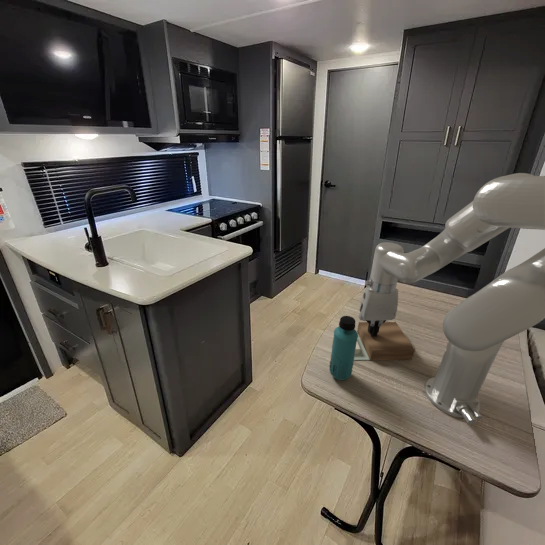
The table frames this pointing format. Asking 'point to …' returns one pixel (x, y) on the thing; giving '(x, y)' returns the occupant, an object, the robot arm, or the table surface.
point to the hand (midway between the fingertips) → (372, 333)
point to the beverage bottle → (343, 348)
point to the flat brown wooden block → (386, 342)
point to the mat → (361, 352)
